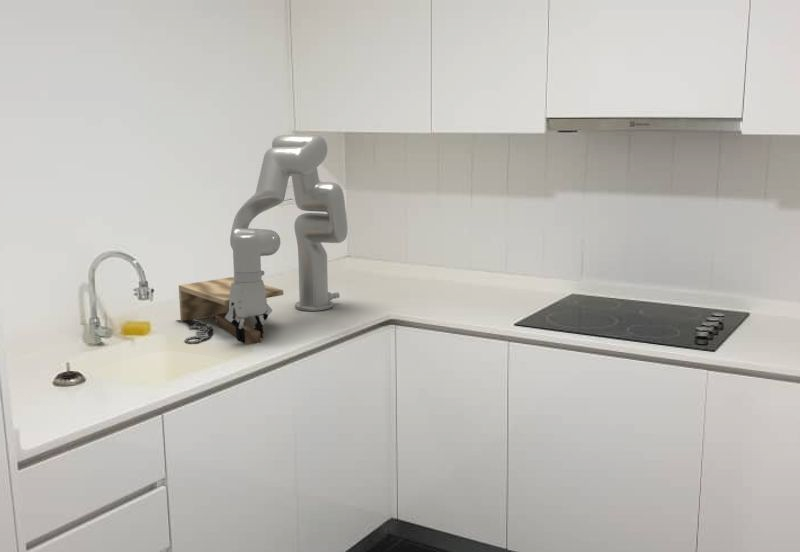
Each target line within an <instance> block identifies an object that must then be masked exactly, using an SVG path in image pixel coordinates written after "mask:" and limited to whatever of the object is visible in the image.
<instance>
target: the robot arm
mask: <svg viewBox="0 0 800 552" xmlns="http://www.w3.org/2000/svg"><path fill="white" fill-rule="evenodd" d="M271 146H272V147H270V148H268V149H267V150H266V152H265V153H264V155H263V158H262V164H261V167H260V172H259V176H258V181H257V186H256V190H255V193H254V194H253V195H252V196H251V197H250V198H249V199H247V200H246V202H244V204H243V205H242V206H241V207H240V208H239V209H238V211H237V212H236V214H235V216H234V219H233V221H232V222H233V223H232V227H231V230H230V231H231V232H230V239H229V241H230V243H229V244H230V247H231V249H232V258H233V262H232V263H233V264H232V265H233V277H234V282H232V283H231V288H230V297H229V312H228V313H227V315H226V316H225V319H226V320H227V321H229V322H230V323H231V324H232V325H234V327H236V338H237V339H236V338H235V339H236V341H238V342H240V343H242V342H244V341H245V337H244V334H245V330H244V328H243V323H244V322H245V319H247V318H253V317H254V319H255V322H254V328H255V329H257V330H258V331H260V332H261V339H263V338H264V325H265V322H266V321H267V319H268V317H269V316H270V315H271V313H272V312H273V309H272V307H270V305H269V304H268V300H267V299H268V298H266V291H265V286H264V285H265V284H264V283H265V282H264V280H262V279H263V276H265V271H264V270H262V267H261V265H262V264H261V262H262V261H261V257H264V256H273V255H274V254H276V253H277V252H278V251H279V249H280V247H281V237H280V235H279V233H277V232H276V231H275V230H272V229H264V228H250V227H249V226H250V224H251V222H252V221H253V220H254V219H255V218H256V217H257V216H259V215H260V214H262V213H265V212H266V211H268V210H271V209H272V208H274V207H277V206H279V205H281V204H282V203H283V202H284V200H285V198H286V193H287V188H288V184H289V178H290V177H291V183H292V189H293V194H294V195H293V196H294V201H295V202H294V203H295V204H296V207H297V208H298V209H299V210H300V211H306V212H305V213H301V214H300V215H298V216H297V217H296V218H295V221H294V226H293V227H294V233H295V237H296V243H297V255H298V257H297V259H298V290H299V294H298V295H299V301H297V302H295V303H294V308H295V309H296V310H299V311H303V312H305V311H306V312H309V311H310V312H316V311H325V310H330V309H331V308H333V307H334V306H333V299H335V300H336V299H339V298H340V293H339V291H337V292H329V290H328V289H329V284H328V283H329V282H328V280H329V279H328V254H327V251H326V249H325V247H324V246H323V244H322V243H326V244H340V243H343V242H344V241H346V238H347V235H348V219H347V210H346V209H347V208H346V200H345V195H344V191H343V189H342V187H341V185H339V184H338V183H336V182H333V181H330V182H328V181H321V180H320V177H319V173H318V167H319V166H320V165H322V163H324V161H325V159H326V157H327V156H328V155H327V154H328V143H327V141H326V139H325V138H324V137H323V136H321V135H318V134H317V135H316V134H315V135H314V134H309V135H308V134H281V135H277V136H276V137H274V138H273V139H272V143H271ZM323 212H324V213H323ZM233 316H236V318H235V320H234V319H233V318H232V317H233Z"/></svg>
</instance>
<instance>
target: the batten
mask: <svg viewBox="0 0 800 552" xmlns="http://www.w3.org/2000/svg"><path fill="white" fill-rule="evenodd" d="M215 315H216V316H215V325H216V326H217V327H219V328H220V329H222V330H224V331H225V332H227V333H228V334H229V335H230V336H232V337H233V338H235V339H236V340H237V338H236V327H234V325H232V324H231V323H230V322H229V321H227V320H226V319H225V316H226V315H227V313H221V314H215ZM232 318H233V319H234V320H235V318H236V316H233V317H232ZM243 328H244V330H245V334H244V337H245V341H244V342H241V344H243V345H245V346H249V345H255V344H261V343H262V338H261V332H260V331H258V330H257V329H255V326H254V327H253V325H250V324H249V323H248V322H245V321H244V323H243Z"/></svg>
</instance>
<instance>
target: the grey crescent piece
mask: <svg viewBox="0 0 800 552" xmlns="http://www.w3.org/2000/svg"><path fill="white" fill-rule="evenodd" d="M176 322H181V323H182V324H185V325H186V326H188V328H189V330H193V331H194V330H195V331H196V332H195V335H194V336H193V335H192V336H189V337H186V338H185V339H184V342H185V343H186V344H189V345H199V344H201V343H204V342H207V341H209V340H210V338H211V337H212V336H213V335H214V327H213V326H210V325H208V323H207V322H200V320H196V319H195V320H183V321H182V320H181V319H179V320H176Z"/></svg>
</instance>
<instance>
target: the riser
mask: <svg viewBox="0 0 800 552" xmlns="http://www.w3.org/2000/svg"><path fill="white" fill-rule="evenodd" d="M232 282H234V276H231V277H224V278H218V279H212V280H211V279H210V280H205V281H198V282H197V281H196V282H192V283H191V282H190V283H186V284H179V285H178V296H179V297H178V299H179V315H180V317H179V318H180V320H182V321H183V320H195V321H196V320H200V319H205V318H210V317H211V316H212V317H216V315H215V314H221V313H228V312H229V297H230V288H231V283H232ZM264 286H265V291H266V299H269V298H274V297H275V298H276V297H281V296H284V289H280V288H276V287H273V286H269V285H266V284H264Z"/></svg>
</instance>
